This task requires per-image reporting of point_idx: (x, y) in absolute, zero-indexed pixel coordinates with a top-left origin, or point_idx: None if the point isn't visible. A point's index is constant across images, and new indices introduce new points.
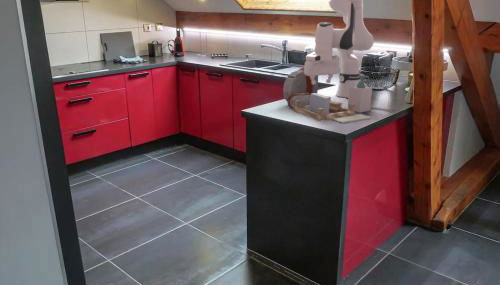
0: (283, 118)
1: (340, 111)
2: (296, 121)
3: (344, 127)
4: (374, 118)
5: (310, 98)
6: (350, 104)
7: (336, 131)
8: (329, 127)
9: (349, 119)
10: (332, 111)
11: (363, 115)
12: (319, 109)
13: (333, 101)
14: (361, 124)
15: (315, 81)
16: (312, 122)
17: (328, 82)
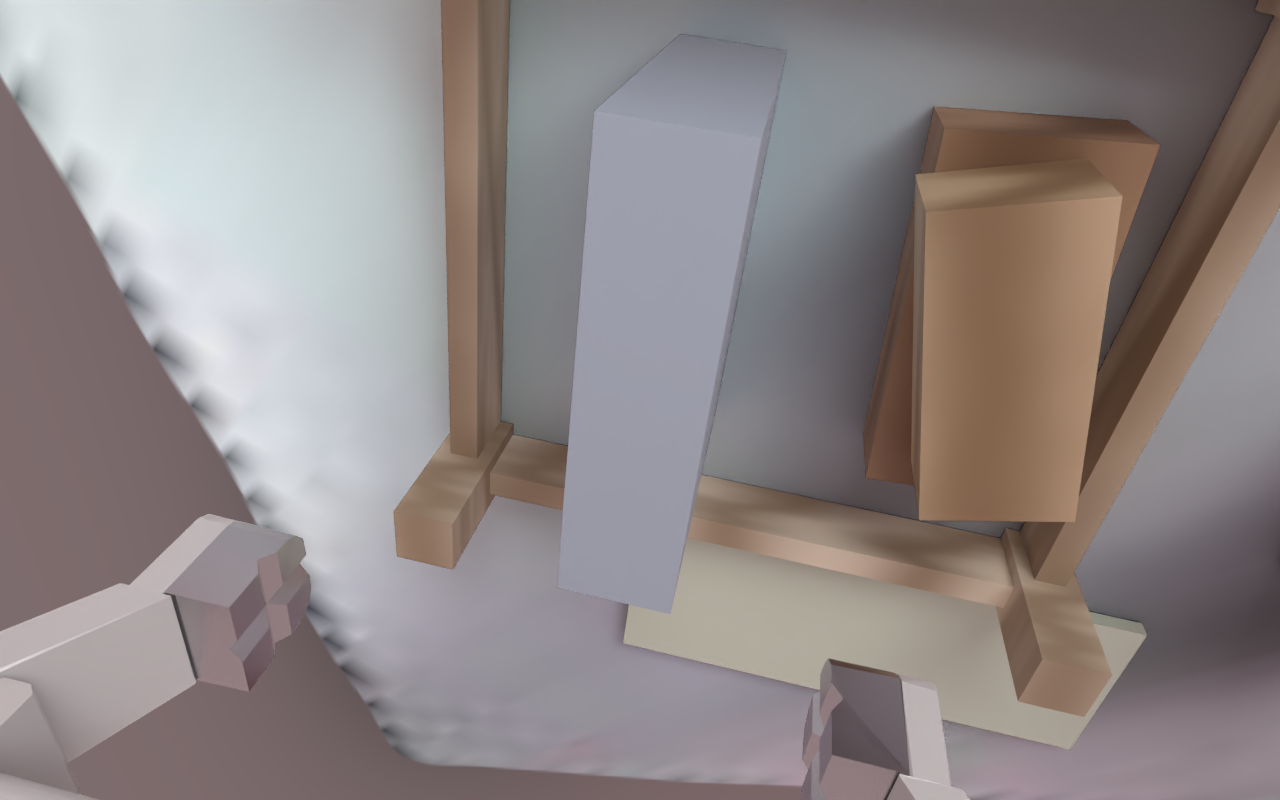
0: (87, 89)
1: None
2: (200, 300)
3: (539, 696)
4: (1102, 758)
5: (624, 85)
6: (1029, 676)
7: (396, 699)
8: (414, 621)
9: (774, 649)
10: (881, 384)
11: None
12: (399, 536)
13: (1069, 371)
14: (758, 749)
15: (232, 675)
16: (357, 437)
17: (813, 742)
